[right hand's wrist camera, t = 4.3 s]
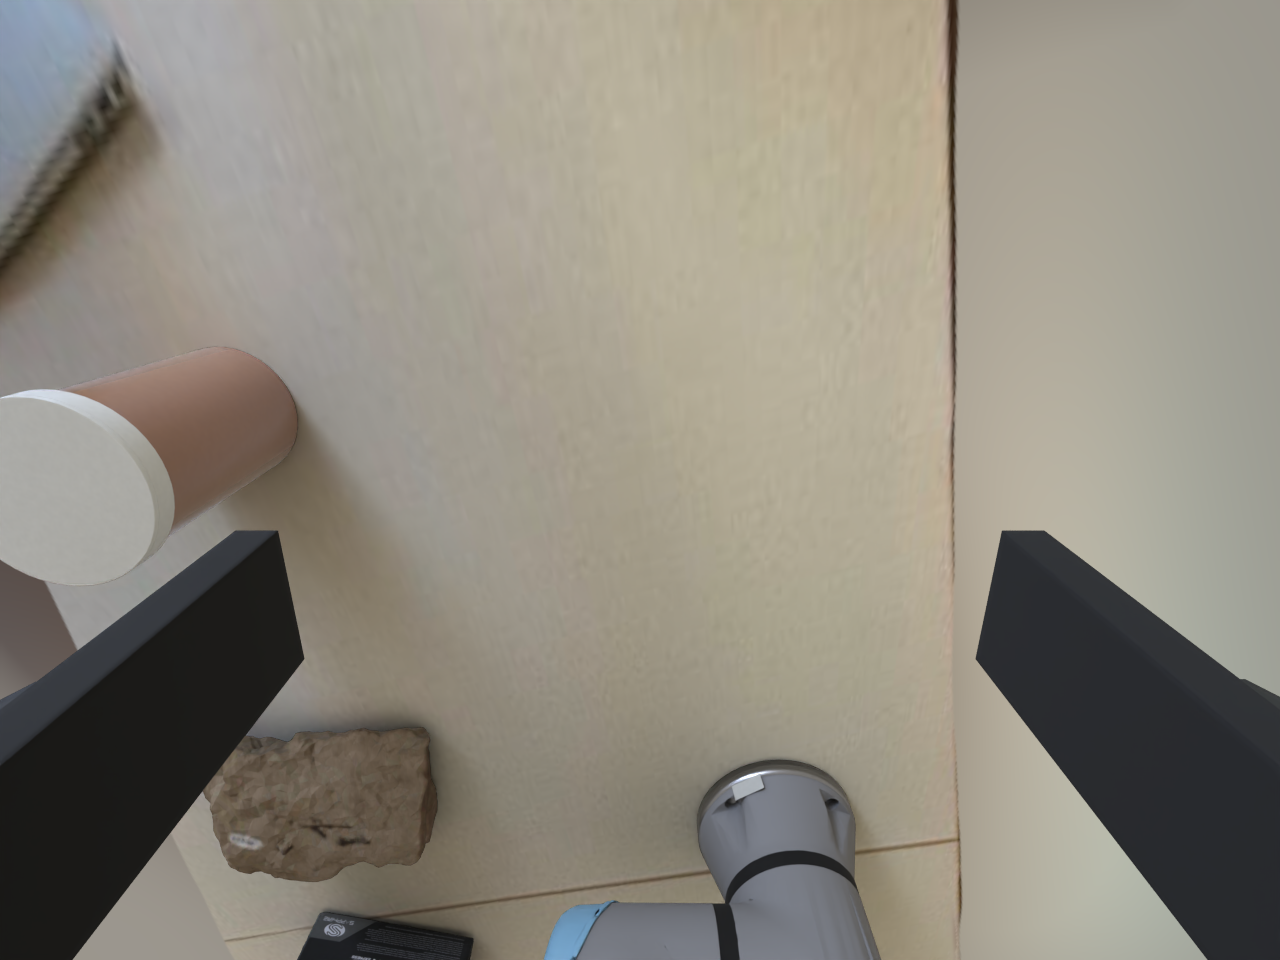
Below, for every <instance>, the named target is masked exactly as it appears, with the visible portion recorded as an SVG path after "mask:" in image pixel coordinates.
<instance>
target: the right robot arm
mask: <svg viewBox="0 0 1280 960" xmlns="http://www.w3.org/2000/svg"><path fill="white" fill-rule="evenodd" d="M303 660H304V655H303V650H302V645H301V640H300V635H299V630H298V625H297V621H296V616H295V611H294V606H293V601H292V596H291V591H290V587H289V582H288V577H287V572H286V567H285V562H284V558H283V553H282V548H281V543H280V538H279V533H278V531H235V532H233V533H232V534H231V535H229V536H228V537H227V538H225V539H224V540H223V541H221V542H220V543H219V544H217V545H216V546H215V547H214V548H212V549H211V550H210V551H208V552H207V553H206V554H204V555H203V556H202V557H200V558H199V559H198V560H196V561H195V562H194V563H192V564H191V565H190V566H189V567H187V568H186V569H185V570H183V571H182V572H181V573H179V574H178V575H177V576H175V577H174V578H173V579H171V580H170V581H169V582H167V583H166V584H165V585H163V586H162V587H161V588H160V589H158V590H157V591H156V592H154V593H153V594H152V595H150V596H149V597H148V598H146V599H145V600H144V601H142V602H141V603H140V604H138V605H137V606H136V607H135V608H133V609H132V610H131V611H129V612H128V613H127V614H125V615H124V616H123V617H121V618H120V619H119V620H117V621H116V622H115V623H113V624H112V625H111V626H109V627H108V628H107V629H106V630H104V631H103V632H102V633H100V634H99V635H98V636H96V637H95V638H94V639H92V640H91V641H90V642H88V643H87V644H86V645H84V646H83V647H82V648H81V649H79V650H78V651H77V652H75V653H74V654H73V655H71V656H70V657H69V658H67V659H66V660H65V661H64V662H62V663H61V664H59V665H58V666H57V667H56V668H54V669H53V670H52V671H50V672H49V673H48V674H46V675H45V676H44V677H42V678H41V679H40V680H38V681H37V682H34V683H32V684H30V685H28V686H26V687H25V688H23V689H21V690H19V691H17V692H15V693H13V694H11V695H9V696H7V697H5V698H3V699H1V700H0V960H73V958H74V957H75V956H76V954H77V953H78V952H79V951H80V949H81V948H82V947H83V945H84V944H85V943H86V942H87V940H88V939H89V938H90V936H91V935H92V934H93V932H94V931H95V930H96V929H97V927H98V926H99V925H100V923H101V922H102V921H103V919H104V918H105V917H106V916H107V914H108V913H109V912H110V910H111V909H112V908H113V906H114V905H115V904H116V903H117V901H118V900H119V899H120V897H121V896H122V895H123V894H124V892H125V891H126V890H127V888H128V887H129V886H130V884H131V883H132V882H133V880H134V879H135V878H136V877H137V875H138V874H139V873H140V871H141V870H142V869H143V868H144V866H145V865H146V864H147V862H148V861H149V860H150V858H151V857H152V856H153V855H154V853H155V852H156V851H157V849H158V848H159V847H160V846H161V844H162V843H163V842H164V840H165V839H166V838H167V836H168V835H169V834H170V833H171V831H172V830H173V829H174V827H175V826H176V825H177V823H178V822H179V821H180V820H181V818H182V817H183V816H184V814H185V813H186V812H187V811H188V809H189V808H190V807H191V805H192V804H193V803H194V801H195V800H196V799H197V798H198V796H199V795H200V794H201V792H202V791H203V790H204V788H205V787H206V786H207V785H208V783H209V782H210V781H211V779H212V778H213V777H214V775H215V774H216V773H217V772H218V770H219V769H220V768H221V766H222V765H223V764H224V763H225V761H226V760H227V759H228V757H229V756H230V755H231V753H232V752H233V751H234V750H235V748H236V747H237V746H238V744H239V743H240V742H241V740H242V739H243V738H244V737H245V735H246V734H247V733H248V731H249V730H250V729H251V728H252V726H253V725H254V724H255V722H256V721H257V720H258V718H259V717H260V716H261V715H262V713H263V712H264V711H265V709H266V708H267V707H268V705H269V704H270V703H271V702H272V700H273V699H274V698H275V696H276V695H277V694H278V692H279V691H280V690H281V689H282V687H283V686H284V685H285V683H286V682H287V681H288V680H289V678H290V677H291V676H292V674H293V673H294V672H295V670H296V669H297V668H298V667H299V665H300V664H301V663H302V661H303ZM976 660H977V661H978V663H979V664H980V665H981V666H982V668H983V669H984V670H985V672H986V673H987V674H988V676H989V677H990V678H991V680H992V681H993V682H994V683H995V685H996V686H997V687H998V689H999V690H1000V691H1001V692H1002V694H1003V695H1004V696H1005V698H1006V699H1007V700H1008V702H1009V703H1010V704H1011V705H1012V707H1013V708H1014V709H1015V711H1016V712H1017V713H1018V715H1019V716H1020V717H1021V718H1022V720H1023V721H1024V722H1025V724H1026V725H1027V726H1028V727H1029V729H1030V730H1031V731H1032V733H1033V734H1034V735H1035V737H1036V738H1037V739H1038V740H1039V742H1040V743H1041V744H1042V746H1043V747H1044V748H1045V750H1046V751H1047V752H1048V753H1049V755H1050V756H1051V757H1052V759H1053V760H1054V761H1055V762H1056V764H1057V765H1058V766H1059V768H1060V769H1061V770H1062V772H1063V773H1064V774H1065V775H1066V777H1067V778H1068V779H1069V781H1070V782H1071V783H1072V785H1073V786H1074V787H1075V788H1076V790H1077V791H1078V792H1079V794H1080V795H1081V796H1082V798H1083V799H1084V800H1085V801H1086V803H1087V804H1088V805H1089V807H1090V808H1091V809H1092V811H1093V812H1094V813H1095V814H1096V816H1097V817H1098V818H1099V819H1100V821H1101V822H1102V823H1103V825H1104V826H1105V827H1106V829H1107V830H1108V831H1109V833H1110V834H1111V835H1112V836H1113V838H1114V839H1115V840H1116V842H1117V843H1118V844H1119V845H1120V847H1121V848H1122V849H1123V851H1124V852H1125V853H1126V855H1127V856H1128V857H1129V858H1130V860H1131V861H1132V862H1133V864H1134V865H1135V866H1136V868H1137V869H1138V870H1139V871H1140V873H1141V874H1142V875H1143V877H1144V878H1145V879H1146V881H1147V882H1148V883H1149V884H1150V886H1151V887H1152V888H1153V890H1154V891H1155V892H1156V893H1157V895H1158V896H1159V897H1160V899H1161V900H1162V901H1163V903H1164V904H1165V905H1166V906H1167V908H1168V909H1169V910H1170V912H1171V913H1172V914H1173V915H1174V917H1175V918H1176V919H1177V921H1178V922H1179V923H1180V925H1181V926H1182V927H1183V929H1184V930H1185V931H1186V932H1187V934H1188V935H1189V936H1190V938H1191V939H1192V940H1193V941H1194V943H1195V944H1196V945H1197V947H1198V948H1199V949H1200V951H1201V952H1202V953H1203V954H1204V956H1205V957H1206V958H1207V960H1280V697H1279V696H1277V695H1275V694H1273V693H1271V692H1269V691H1267V690H1265V689H1263V688H1261V687H1259V686H1257V685H1255V684H1253V683H1252V682H1250V681H1248V680H1246V679H1239V678H1238V677H1236V676H1235V675H1234V674H1232V673H1231V672H1230V671H1228V670H1227V669H1226V668H1224V667H1223V666H1222V665H1221V664H1219V663H1218V662H1217V661H1215V660H1214V659H1213V658H1211V657H1210V656H1209V655H1207V654H1206V653H1205V652H1203V651H1202V650H1201V649H1199V648H1198V647H1197V646H1195V645H1194V644H1193V643H1192V642H1190V641H1189V640H1188V639H1186V638H1185V637H1184V636H1182V635H1181V634H1180V633H1178V632H1177V631H1176V630H1174V629H1173V628H1172V627H1170V626H1169V625H1168V624H1167V623H1165V622H1164V621H1163V620H1161V619H1160V618H1159V617H1157V616H1156V615H1155V614H1153V613H1152V612H1151V611H1149V610H1148V609H1147V608H1145V607H1144V606H1143V605H1141V604H1140V603H1139V602H1137V601H1136V600H1135V599H1134V598H1132V597H1131V596H1130V595H1128V594H1127V593H1126V592H1124V591H1123V590H1122V589H1120V588H1119V587H1118V586H1116V585H1115V584H1114V583H1113V582H1111V581H1110V580H1109V579H1107V578H1106V577H1105V576H1103V575H1102V574H1101V573H1099V572H1098V571H1097V570H1095V569H1094V568H1093V567H1091V566H1090V565H1089V564H1088V563H1086V562H1085V561H1084V560H1082V559H1081V558H1080V557H1078V556H1077V555H1076V554H1074V553H1073V552H1072V551H1070V550H1069V549H1068V548H1066V547H1065V546H1064V545H1063V544H1061V543H1060V542H1059V541H1057V540H1056V539H1055V538H1053V537H1052V536H1051V535H1049V534H1048V533H1047V532H1045V531H1002V533H1001V538H1000V543H999V548H998V553H997V558H996V562H995V567H994V572H993V577H992V582H991V587H990V591H989V596H988V601H987V606H986V611H985V616H984V621H983V625H982V630H981V635H980V640H979V645H978V650H977V655H976ZM697 830H698V841H699V847H700V850H701V853H702V855H703V858H704V859H705V862H706V864H707V866H708V868H709V870H710V872H711V874H712V876H713V878H714V880H715V882H716V884H717V886H718V888H719V890H720V892H721V894H722V896H723V898H724V900H725V904H712V903H619V902H618V901H614V900H611V901H607V902H605V903H604V904H590V905H577V906H575V907H573V908H570V909H569V910H567V911H566V912H565V913H563V915H562V916H561V917H560V918H559V920H558V922H557V923H556V925H555V927H554V929H553V932H552V934H551V937H550V940H549V943H548V946H547V950H546V953H545V957H544V960H881V958H880V955H879V952H878V949H877V946H876V943H875V940H874V937H873V934H872V931H871V928H870V925H869V922H868V919H867V916H866V913H865V910H864V907H863V904H862V901H861V898H860V896H859V893H858V889H857V886H856V883H855V880H854V869H855V831H856V827H855V819H854V815H853V812H852V810H851V807H850V804H849V801H848V798H847V796H846V794H845V792H844V791H843V789H842V787H841V786H840V785H839V784H838V783H837V782H836V781H835V780H834V779H833V778H832V777H831V776H829V775H828V774H827V773H825V772H824V771H822V770H820V769H818V768H816V767H813V766H811V765H808V764H805V763H801V762H796V761H789V760H769V761H762V762H757V763H753V764H749V765H746V766H743V767H741V768H739V769H736V770H734V771H732V772H731V773H729V774H727V775H726V776H724V777H723V778H721V779H720V780H719V781H718V782H716V783H715V784H714V785H713V786H712V787H711V789H710V790H709V791H708V792H707V794H706V795H705V797H704V798H703V800H702V802H701V805H700V807H699V811H698V816H697Z"/></svg>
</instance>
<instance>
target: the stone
mask: <svg viewBox="0 0 1280 960" xmlns="http://www.w3.org/2000/svg"><path fill="white" fill-rule="evenodd" d="M429 743H430V737H429V734H428V732H427V731H426V729H424V728H423V727H420V728H411V729H410V728H402V729H394V730H388V731H384V732H379V731H371V730H368V729H365V728H361V729H357V730H349V731H347V732H344V733H333V732H330V731H326V732H300V733H296V734H295V735H294V737H293V739H292V740H291V741H289V742H285V741H282V740H279V739H275V738H272V737H264V738H261V739H259V738H255V737H253V736H252V737H250V736H245V737H244V738H243V739H242V740H241V742H240V743H239V744H238V746H237V747H236V748H235V750H234V751H233V752H232V753H231V755H230V756H229V757H228V759H227V760H226V761H225V763H224V764H223V765H222V766H221V768H220V769H219V770H218V772H217V773H216V774H215V775H214V777H213V778H212V779H211V781H210V782H209V783H208V785H207V786H206V787H205V788H204V790H203V792H204V794H205V798H206V799H207V800H208V801H209V802H210V803H211V805H210V810H211V812H212V815H213V831H214V833H215V836H216V837H217V839H218V840H219V842H220V846H221V850H222V853H223V855H224V857H225V858H226V860H227V861H228V864H229V866H230V867H231V868H233V869H236V870H237V871H239V872H243V873H248V874H251V873H254V872H259V871H262V872H264V873H267V874H271V875H272V876H273V877H275V878H282V879H287V880H297V881H305V882H318V881H323V880H327V879H330V878H332V877H334V876H335V875H337V874H338V873H339V871H340V870H341V869H343V868H344V867H346V866H350V865H354V864H356V863H358V862H362V861H365V862H367V863H370V864H373V865H375V866H376V867H378V868H379V867H382V866H384V865H387V864H402V865H412V864H414V863H416V862H417V861H418V860H419V859H420V858H421V854H422V853H423V850H424V848H425V843H428V842H429V841H430V838H431V833H432V828H433V823H434V819H435V815H436V813H437V793H436V788H435V786H434V784H433V782H432V779H431V767H430V756H429V750H428V745H429Z"/></svg>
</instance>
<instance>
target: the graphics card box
mask: <svg viewBox="0 0 1280 960" xmlns="http://www.w3.org/2000/svg"><path fill="white" fill-rule="evenodd" d="M473 941H474V939H473V938H468V937H462V936H457V935H456V936H455V935H450V934H445V933H440V932H434V931H428V930H423V929H417V928H412V927H408V926H401V925H395V924H389V923H384V922H379V921H374V920H368V919H362V918H356V917H351V916H344V915H340V914H334V913H328V912H323V913H320V914H319V916H318V918H317V920H316V922H315V924H314V926H313V928H312V930H311V932H310V934H309V936H308V939H307V941H306V942H305V944H304V946H303V948H302V951H301V953H300V955H299V957H298V959H297V960H470V956H471V951H472V946H473Z"/></svg>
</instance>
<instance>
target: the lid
mask: <svg viewBox="0 0 1280 960" xmlns="http://www.w3.org/2000/svg"><path fill="white" fill-rule="evenodd" d="M174 510H175V503H174V493H173V488H172V484H171V481H170V478H169V475H168V472H167V470H166V468H165V466H164V464H163V462H162V460H161V458H160V457H159V455H158V453H157V452H156V450H155V449H154V447H153V446H152V445H151V444H150V442H149V441H148V440H147V439H146V437H145V436H144V435H143V434H142V433H141V432H140V431H139V430H138V429H137V428H136V427H135V426H133V425H132V424H131V423H130V422H129V421H127V420H126V419H125V418H124V417H122V416H121V415H119V414H118V413H116V412H115V411H113V410H112V409H110V408H108V407H106V406H104V405H103V404H101V403H99V402H97V401H94V400H92V399H89V398H87V397H84V396H81V395H78V394H74V393H71V392H65V391H59V390H48V389H40V390H29V391H24V392H19V393H15V394H12V395H8V396H4V397H0V560H2V561H3V562H5V563H6V564H8V565H10V566H11V567H13V568H15V569H17V570H19V571H21V572H23V573H25V574H27V575H30V576H32V577H35V578H38V579H40V580H44V581H47V582H51V583H55V584H62V585H69V586H89V585H97V584H102V583H106V582H109V581H112V580H115V579H117V578H119V577H121V576H123V575H125V574H127V573H128V572H129V571H131V570H132V569H134V568H135V567H137V566H138V565H140V564H141V563H143V562H144V561H146V560H147V559H148V558H150V557H151V556H152V555H154V554H155V553H156V552H157V551H158V550H159V549H160V548H161V546H162V545H163V543H164V542H165V540H166V539H167V537H168V534H169V532H170V530H171V527H172V523H173V519H174Z"/></svg>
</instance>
